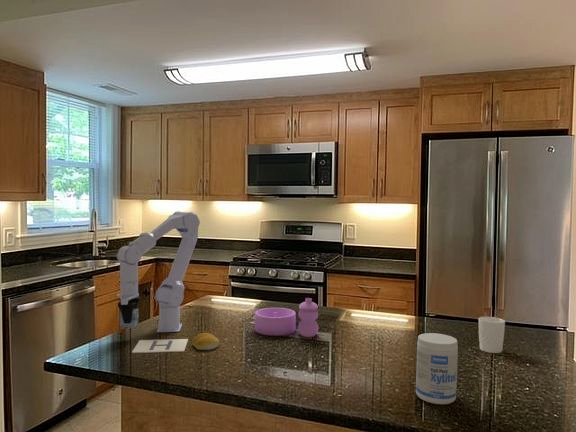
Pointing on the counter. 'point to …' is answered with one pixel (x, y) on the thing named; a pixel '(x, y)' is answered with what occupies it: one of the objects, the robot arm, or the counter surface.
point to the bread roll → (205, 341)
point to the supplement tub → (436, 368)
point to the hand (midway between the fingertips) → (129, 320)
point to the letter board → (160, 346)
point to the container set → (287, 320)
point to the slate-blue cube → (133, 321)
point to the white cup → (491, 334)
